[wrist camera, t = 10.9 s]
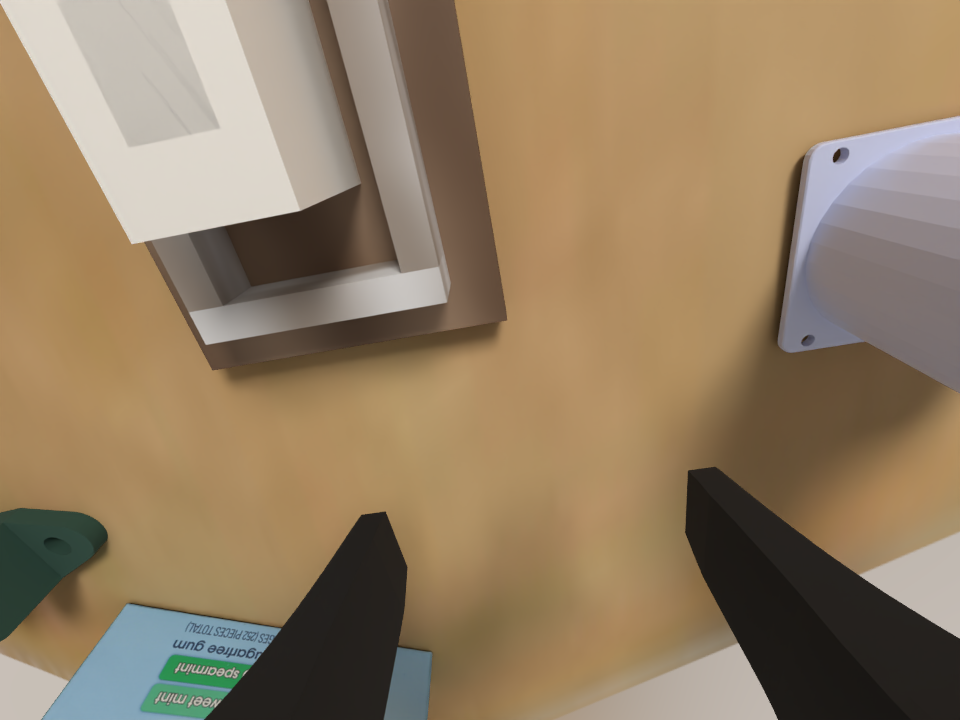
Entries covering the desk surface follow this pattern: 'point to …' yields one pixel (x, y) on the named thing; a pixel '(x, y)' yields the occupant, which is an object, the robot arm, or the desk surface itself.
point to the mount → (40, 557)
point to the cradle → (359, 209)
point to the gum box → (195, 669)
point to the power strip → (193, 106)
